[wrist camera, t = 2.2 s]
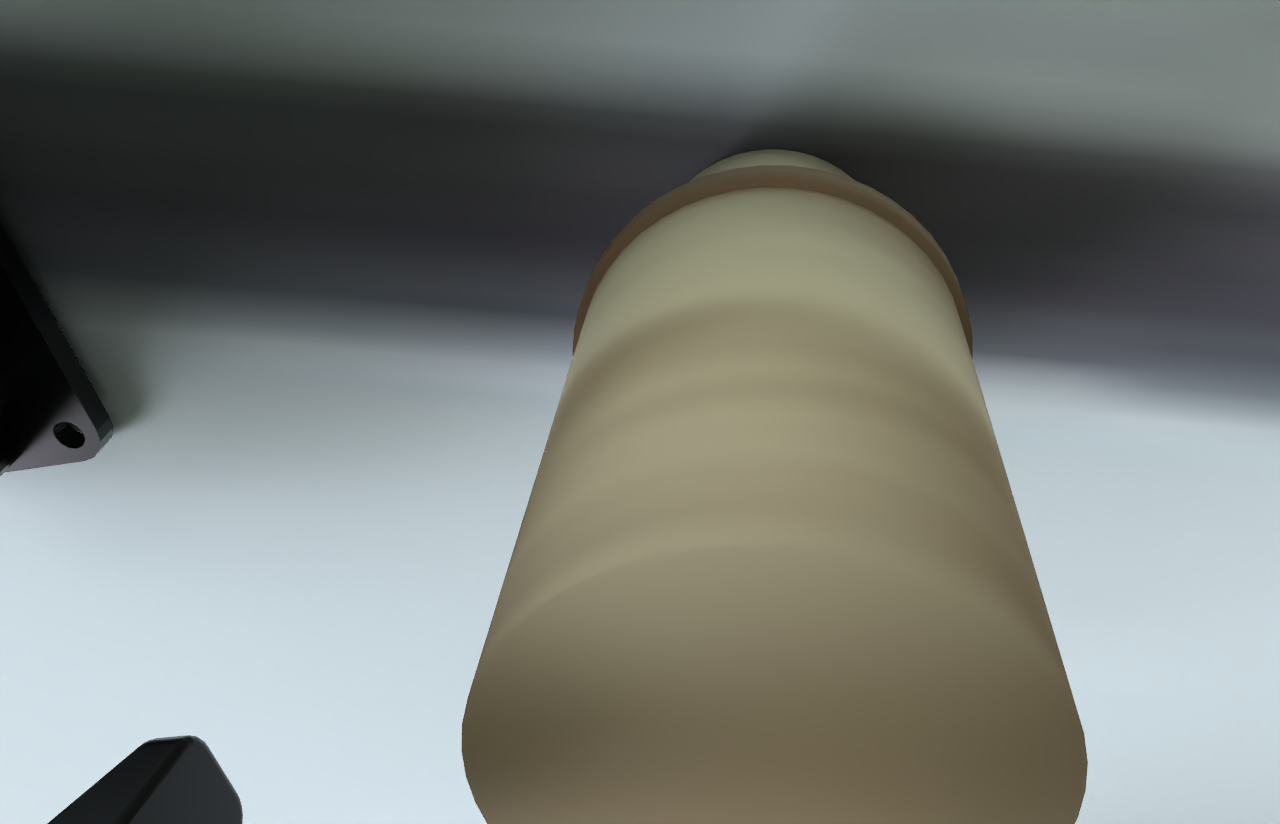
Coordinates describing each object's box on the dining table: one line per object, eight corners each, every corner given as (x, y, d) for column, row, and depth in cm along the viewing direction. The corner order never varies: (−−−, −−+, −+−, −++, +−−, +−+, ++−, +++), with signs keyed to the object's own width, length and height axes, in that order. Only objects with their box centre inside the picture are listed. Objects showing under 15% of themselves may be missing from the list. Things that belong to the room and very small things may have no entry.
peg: (953, 379, 16) (1104, 959, 9) (644, 421, 17) (543, 975, 10) (924, 63, 14) (1101, 489, 6) (568, 132, 15) (356, 572, 7)
